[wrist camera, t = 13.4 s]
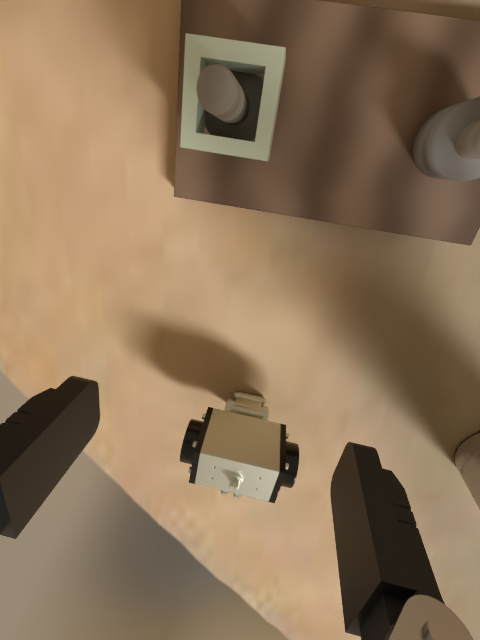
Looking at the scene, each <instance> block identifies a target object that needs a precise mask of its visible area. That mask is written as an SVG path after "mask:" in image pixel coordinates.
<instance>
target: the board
mask: <svg viewBox="0 0 480 640" xmlns="http://www.w3.org/2000/svg"><path fill="white" fill-rule="evenodd" d="M186 33H187V34H195V35H202V36H209V37H216V38H223V39H230V40H237V41H244V42H251V43H258V44H265V45H272V46H279V47H286V61H285V68H284V74H283V80H282V86H281V92H280V98H279V104H278V110H277V116H276V122H275V128H274V134H273V140H272V146H271V152H270V158H269V161H262V160H256V159H250V158H244V157H237V156H231V155H225V154H219V153H213V152H206V151H200V150H194V149H188V148H182V147H180V140H181V119H182V98H183V77H184V56H185V35H186ZM263 82H264V75H257V74H251V73H244V72H237V71H230V70H229V69H228V68H227V67H225V66H223V65H220V64H213V65H210V66H208V67H206V68H205V69H204V70H203V71H202V72H201V74H200V75H199V78H198V81H197V87H196V90H197V96H198V100H199V102H200V104H201V105H202V107H203V108H204V109H205V110H206V119H205V132H204V134H207V135H214V136H220V137H226V138H233V139H239V140H245V141H252V142H255V138H256V131H257V124H258V117H259V110H260V103H261V96H262V89H263ZM174 197H179V198H185V199H192V200H198V201H204V202H210V203H216V204H222V205H228V206H234V207H240V208H246V209H252V210H258V211H264V212H270V213H276V214H283V215H289V216H295V217H301V218H307V219H313V220H319V221H325V222H331V223H337V224H343V225H349V226H355V227H361V228H367V229H374V230H380V231H386V232H392V233H398V234H404V235H410V236H416V237H422V238H428V239H434V240H440V241H446V242H452V243H458V244H465V245H471V244H472V242H473V240H474V238H475V236H476V234H477V232H478V230H479V227H480V21H477V20H469V19H462V18H454V17H446V16H438V15H430V14H422V13H414V12H407V11H399V10H391V9H383V8H375V7H367V6H360V5H352V4H344V3H336V2H328V1H320V0H182V1H181V27H180V53H179V79H178V105H177V131H176V157H175V182H174Z"/></svg>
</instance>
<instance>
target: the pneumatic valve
mask: <svg viewBox="0 0 480 640" xmlns="http://www.w3.org/2000/svg"><path fill="white" fill-rule="evenodd" d="M234 397H235V398H236V400H234V399H230V398H228V399H227V402H226V406H225V410H219V409H215V408H211V407H208V410H207V413H206V414H203V415H202V419H204V422H203V421H199V420H194V419H191V420H190V422H189V424H188V427H187V430H186V433H185V436H184V440H183V444H182V448H181V454H180V461H181V462H184V463H188V464H192V467H190V468H189V473H190V480H189V483H194V484H198V485H202V486H206V487H210V488H214V489H218V490H221V493H222V495H227V494H228V493H229V492H231V493H233V494H234V497H235V498H240V497H241V495H243V496H247V497H251V498H255V499H259V500H263V501H268V502H272V503H275V500H276V498H277V495H278V494H279V490H280V487H281V486H284V487H288V488H292V487H293V485H294V483H295V480H296V476H297V471H298V464H299V447H298V444H296V443H292V442H288V441H286V439H288V436H289V434H288V433H286V425H283V424H279V423H275V422H271V421H267V420H268V415H269V408H268V407H264V406H261V404H264V403H265V402H266V400H265V399H263V398H262V397H261V396H256V395H252V394H248V393H243V392H239V391H238V392H237V393H236V392H235V394H234Z"/></svg>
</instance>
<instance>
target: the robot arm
mask: <svg viewBox="0 0 480 640" xmlns="http://www.w3.org/2000/svg"><path fill="white" fill-rule="evenodd" d="M99 420H100V408H99V388H98V383H97V382H96V381H93V380H89V379H84V378H80V377H76V376H71V377H69V378H68V379H67V380H66V381H64V382H63V383H62V384H61V385H60V386H59V387H58V388H57V389H52V388H49V389H47V390H45V391H43V392H41V393H39V394H37V395H35V396H33V397H32V398H30V399H29V400H28V401H27V402H26V403H25V404H24V405H22V406H21V407H20V408H19V409H18V411H17V412H15V413H13V414H12V415H11V416H10V417H9V418H8V419H6V421H5V423H2V424H1V425H0V535H3V536H7V537H11V538H14V539H16V538H17V537H18V535H19V534H20V533H21V531H22V530H23V529H24V527H25V526H26V525H27V523H28V522H29V520H30V519H31V518H32V517H33V515H34V514H35V512H36V511H37V510H38V509H39V507H40V506H41V505H42V503H43V502H44V501H45V499H46V498H47V497H48V495H49V494H50V493H51V491H52V490H53V489H54V487H55V486H56V485H57V483H58V482H59V481H60V479H61V478H62V477H63V475H64V474H65V473H66V471H67V470H68V469H69V467H70V466H71V465H72V463H73V462H74V461H75V459H76V458H77V457H78V455H79V454H80V453H81V452H82V450H83V449H84V448H85V446H86V445H87V444H88V442H89V441H90V440H91V438H92V437H93V435H94V434H95V432H96V430H97V427H98V424H99ZM454 460H455V465H456V467H457V469H458V470H459V472H460V474H461V476H462V478H463V480H464V481H465V483H466V485H467V487H468V489H469V491H470V492H471V494H472V496H473V498H474V500H475V502H476V504H477V505H478V507H479V509H480V433H477V434H475V435H473V436H472V437H470V438H468V439H467V440H466V441H464V442H463V443H462V444H461V445H460V446H459V448H458V449H457V451H456V453H455V459H454ZM331 504H332V513H333V522H334V532H335V541H336V550H337V559H338V568H339V578H340V587H341V596H342V605H343V614H344V623H345V632H346V633H350V634H354V635H357V636H361V640H473V638H472V636H471V634H470V633H469V631H468V629H467V628H466V627H465V625H464V624H463V622H462V621H461V620H460V619H459V618H458V617H457V615H456V614H455V613H454V612H453V611H452V610H451V609H449V608H448V607H447V606H446V605H445V603H444V601H443V599H442V597H441V594H440V591H439V588H438V586H437V583H436V580H435V577H434V574H433V571H432V568H431V565H430V562H429V559H428V556H427V553H426V550H425V548H424V545H423V542H422V539H421V536H420V533H419V530H418V528H416V521H415V518H414V515H413V512H411V507H410V504H409V501H408V498H407V495H406V492H405V489H404V487H403V486H402V485H401V483H400V482H399V480H398V479H397V478H396V476H395V475H394V473H393V472H392V471H390V470H386V469H382V466H381V463H380V459H379V456H378V453H377V450H376V449H375V448H373V447H369V446H364V445H360V444H356V443H352V442H348V443H347V445H346V446H345V449H344V451H343V453H342V456H341V458H340V460H339V462H338V465H337V467H336V469H335V472H334V474H333V477H332V481H331Z"/></svg>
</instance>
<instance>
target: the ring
mask: <svg viewBox="0 0 480 640" xmlns="http://www.w3.org/2000/svg"><path fill="white" fill-rule="evenodd" d="M285 61H286V47H279V46H272V45H265V44H258V43H251V42H244V41H237V40H230V39H223V38H216V37H209V36H202V35H195V34H187V33H186V35H185V56H184V77H183V98H182V119H181V140H180V147H182V148H188V149H194V150H200V151H206V152H213V153H219V154H225V155H231V156H237V157H244V158H250V159H256V160H262V161H269V158H270V152H271V146H272V140H273V134H274V128H275V122H276V116H277V110H278V104H279V98H280V92H281V86H282V80H283V74H284V68H285ZM213 64H220V65H223V66H225V67H227V68H228V69H229V70H230V71H237V72H244V73H251V74H257V75H264V82H263V89H262V96H261V103H260V110H259V117H258V124H257V131H256V138H255V142H252V141H245V140H239V139H233V138H226V137H220V136H214V135H207V134H204V132H205V119H206V110H205V109H204V108H203V107H202V105H201V104H200V102H199V100H198V96H197V90H196V87H197V81H198V78H199V75H200V74H201V72H202V71H203V70H204V69H205V68H206V67H208V66H210V65H213Z"/></svg>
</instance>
